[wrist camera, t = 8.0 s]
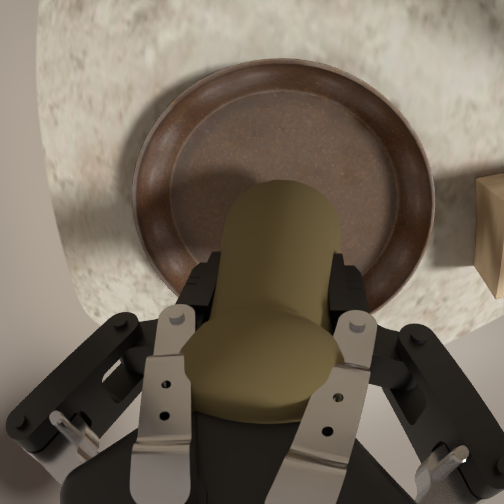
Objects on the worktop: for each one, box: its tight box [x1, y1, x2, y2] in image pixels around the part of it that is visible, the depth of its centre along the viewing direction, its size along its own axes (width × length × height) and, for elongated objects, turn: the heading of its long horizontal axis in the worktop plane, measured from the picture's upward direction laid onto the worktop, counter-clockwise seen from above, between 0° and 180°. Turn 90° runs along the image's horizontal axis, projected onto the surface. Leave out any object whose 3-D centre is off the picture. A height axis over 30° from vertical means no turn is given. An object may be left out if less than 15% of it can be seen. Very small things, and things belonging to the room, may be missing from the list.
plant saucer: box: [132, 58, 435, 315], centre depth 19 cm, size 18×18×3 cm
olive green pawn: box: [180, 179, 345, 424], centre depth 12 cm, size 6×6×11 cm
